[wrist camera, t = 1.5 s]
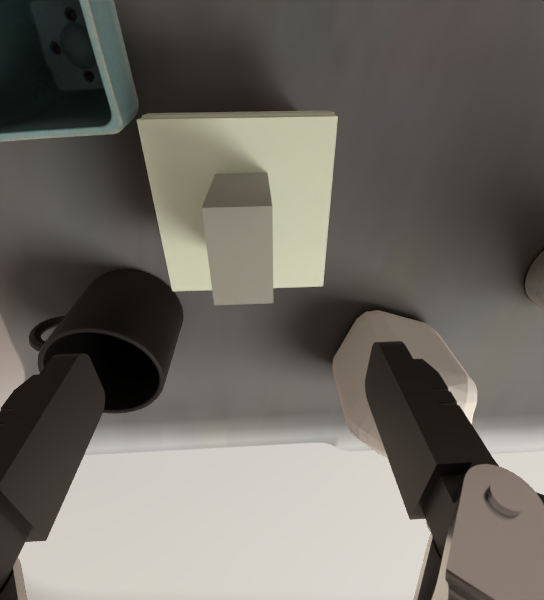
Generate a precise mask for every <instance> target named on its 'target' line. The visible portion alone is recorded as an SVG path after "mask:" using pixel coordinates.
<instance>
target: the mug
mask: <svg viewBox="0 0 544 600" xmlns="http://www.w3.org/2000/svg"><path fill="white" fill-rule="evenodd" d="M182 322H183V310H182V306H181V304H180V301H179V299H178V297H177V296H176V294H175V293H174V292H173V291H172V289H171V288H170V287H169V286H168V285H166V284H165V283H164V282H163V281H161V280H159V279H158V278H156V277H154V276H152V275H150V274H147V273H144V272H140V271H135V270H118V271H113V272H109V273H106V274H104V275H102V276H100V277H98V278H97V279H96V280H94V281H93V282H92V283H91V285H90V286H89V287H88V288H87V290H86V291H85V292H84V293H83V295H82V296H81V297H80V298H79V300H78V301H77V302H76V303H75V305H74V306H73V307H72V309H71V310H70V311H69V312H68V314H67V315H66V316H61V317H55V318H51V319H48V320H45V321H43V322H41V323H39V324H38V325H37V326H35V327H34V328H33V329H32V331H31V332H30V335H29V342H30V345H31V347H33V348H34V349H35V350H37V351H40V352H39V355H38V368H39V371H40V372H41V371H42V370H43V368H44V367H45V365H46V364H47V363H48V361H49V360H50V359H51V358H52V357H53V356H54V355H60V354H83V353H84V354H87V355H88V356H89V357H90V359H91V361H92V364H93V366H94V368H95V371H96V373H97V375H98V377H99V380H100V382H101V384H102V387H103V389H104V393H105V406H104V410H103V413H127V412H132V411H136V410H139V409H142V408H144V407H146V406H148V405H149V404H151V403H152V402H153V401H154V400H155V399H157V397H158V396H159V395H160V393H161V392H162V390H163V387H164V384H165V380H166V377H167V374H168V370H169V367H170V363H171V360H172V357H173V353H174V350H175V346H176V343H177V339H178V336H179V333H180V329H181V326H182ZM56 326H57V327H56ZM53 327H56V329H55V330H54V331H53V333H52V334H51V335H50V336H49V338H48V339H47V340H46V341H44V340H42V339H41V335H42V334H43V333H44V332H45V331H46V330H48V329H50V328H53Z"/></svg>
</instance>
